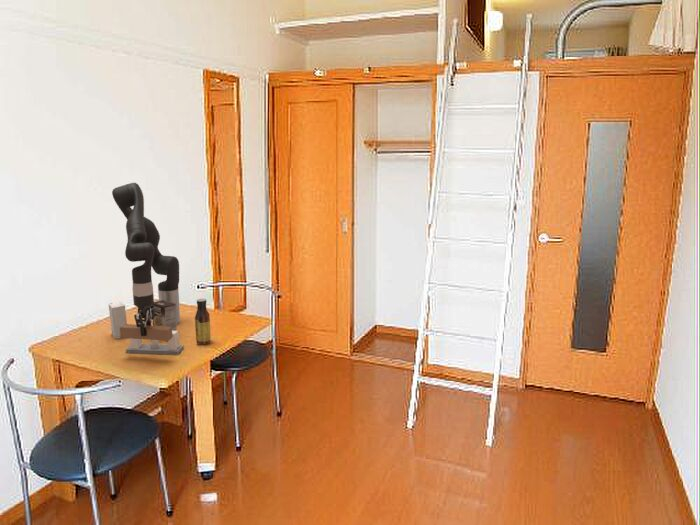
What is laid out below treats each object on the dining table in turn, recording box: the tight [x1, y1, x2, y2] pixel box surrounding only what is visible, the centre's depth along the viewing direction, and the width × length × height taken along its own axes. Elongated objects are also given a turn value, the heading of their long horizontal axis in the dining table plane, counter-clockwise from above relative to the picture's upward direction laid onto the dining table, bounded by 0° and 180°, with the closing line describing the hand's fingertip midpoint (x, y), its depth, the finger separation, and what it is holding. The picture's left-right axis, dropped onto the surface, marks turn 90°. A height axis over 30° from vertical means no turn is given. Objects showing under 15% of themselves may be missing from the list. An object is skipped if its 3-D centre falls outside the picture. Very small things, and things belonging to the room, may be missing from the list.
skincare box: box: [108, 301, 128, 340], centre depth 240 cm, size 8×6×15 cm
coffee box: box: [152, 300, 178, 331], centre depth 239 cm, size 9×6×16 cm
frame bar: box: [120, 323, 173, 342], centre depth 215 cm, size 4×20×4 cm, turn 83°
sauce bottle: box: [194, 298, 212, 345], centre depth 233 cm, size 6×6×20 cm
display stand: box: [125, 330, 185, 356], centre depth 224 cm, size 7×22×8 cm, turn 87°
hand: (146, 333), depth 215 cm, fingers closed on frame bar, 4 cm apart
